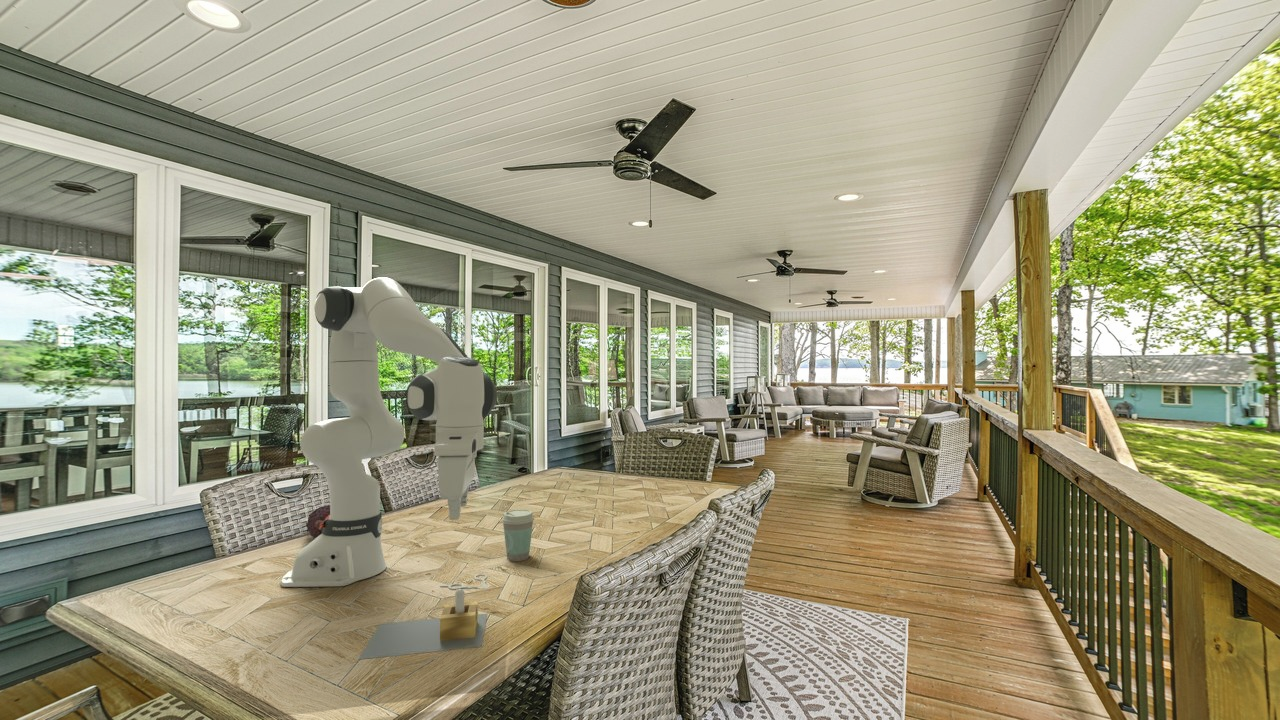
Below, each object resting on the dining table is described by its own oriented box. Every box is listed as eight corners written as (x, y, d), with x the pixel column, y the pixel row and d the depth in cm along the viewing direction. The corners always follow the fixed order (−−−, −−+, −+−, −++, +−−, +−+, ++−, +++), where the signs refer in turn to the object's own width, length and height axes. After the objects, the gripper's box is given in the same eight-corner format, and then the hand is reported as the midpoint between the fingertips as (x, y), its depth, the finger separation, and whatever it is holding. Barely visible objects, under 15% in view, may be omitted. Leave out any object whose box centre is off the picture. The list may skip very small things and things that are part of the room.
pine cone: (297, 536, 161) (297, 504, 162) (332, 529, 169) (332, 498, 169) (317, 548, 150) (318, 513, 150) (354, 540, 157) (355, 506, 158)
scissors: (477, 571, 131) (532, 589, 119) (477, 574, 131) (532, 593, 119) (439, 585, 122) (494, 606, 111) (439, 588, 122) (494, 610, 111)
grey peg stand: (358, 668, 88) (358, 612, 88) (380, 631, 101) (380, 582, 101) (481, 654, 92) (481, 601, 92) (487, 621, 105) (487, 574, 105)
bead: (439, 641, 94) (440, 618, 94) (445, 625, 100) (445, 604, 100) (474, 637, 95) (474, 615, 96) (477, 622, 101) (477, 601, 101)
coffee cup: (504, 552, 146) (504, 509, 146) (535, 551, 146) (535, 508, 147) (499, 563, 137) (499, 517, 137) (532, 562, 138) (532, 516, 138)
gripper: (451, 433, 111) (450, 499, 110) (432, 448, 91) (430, 528, 90) (482, 433, 112) (481, 498, 112) (470, 447, 92) (469, 526, 92)
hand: (458, 511), depth 101 cm, fingers open, 8 cm apart
